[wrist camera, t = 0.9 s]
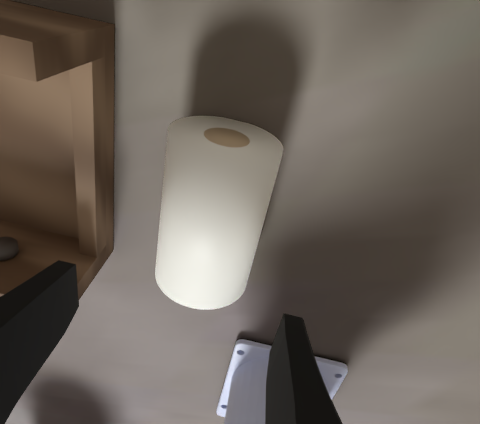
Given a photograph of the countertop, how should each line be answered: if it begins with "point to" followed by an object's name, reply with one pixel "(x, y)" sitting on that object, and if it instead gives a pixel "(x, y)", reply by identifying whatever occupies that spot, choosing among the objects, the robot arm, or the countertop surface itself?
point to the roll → (213, 208)
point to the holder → (55, 143)
